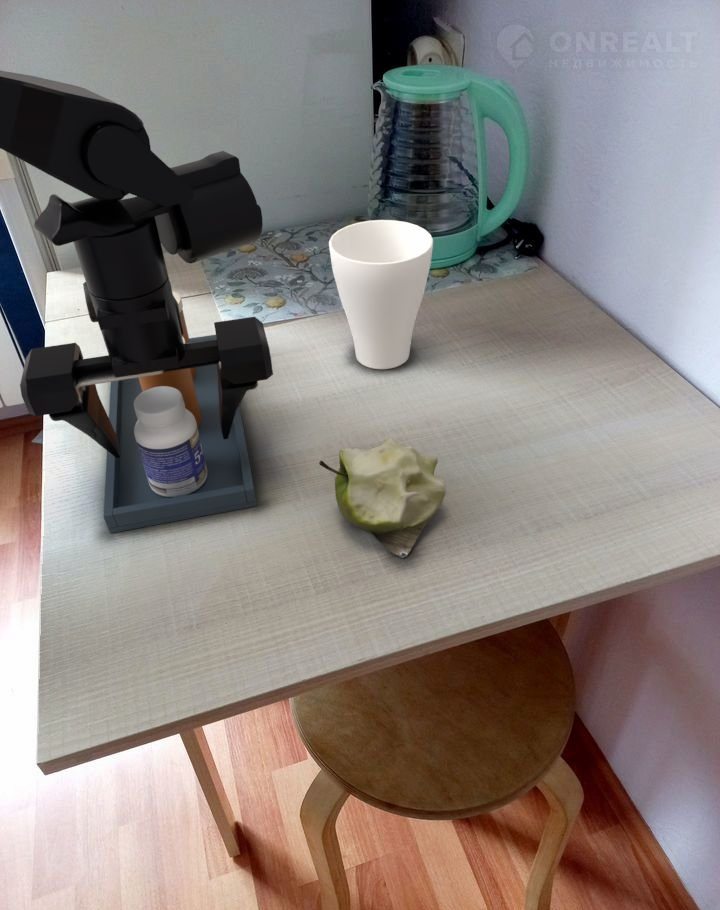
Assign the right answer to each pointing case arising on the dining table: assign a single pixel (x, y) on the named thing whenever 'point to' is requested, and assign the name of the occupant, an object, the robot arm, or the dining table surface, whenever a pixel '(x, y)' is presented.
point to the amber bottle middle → (180, 382)
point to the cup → (381, 286)
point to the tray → (225, 458)
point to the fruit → (388, 492)
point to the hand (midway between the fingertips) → (172, 445)
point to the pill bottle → (169, 442)
